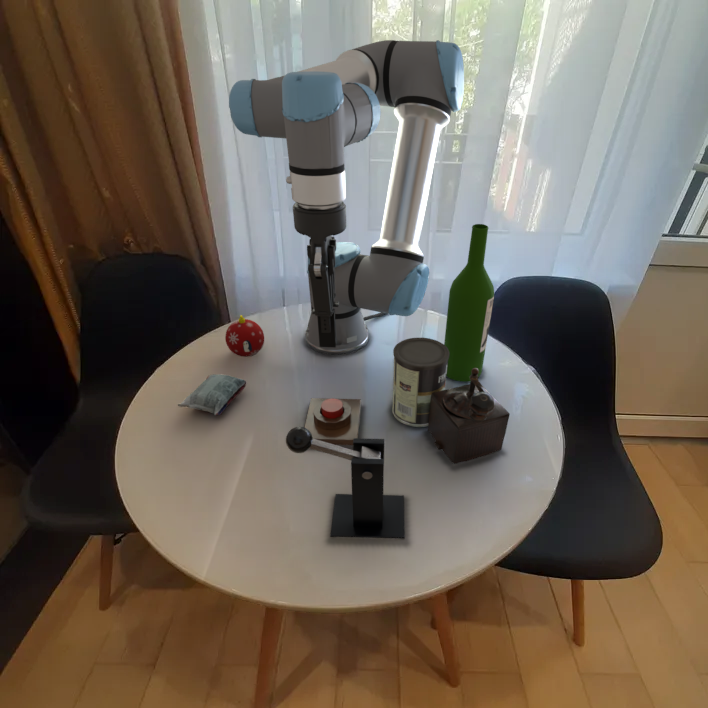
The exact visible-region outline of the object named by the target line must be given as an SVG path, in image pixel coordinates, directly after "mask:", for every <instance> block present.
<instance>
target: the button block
mask: <svg viewBox="0 0 708 708" xmlns="http://www.w3.org/2000/svg"><path fill="white" fill-rule="evenodd" d="M327 399H328V398H326V397H325V398H323V397H322V398H320V397H312V398H310V400H309V405H308V409H307V413H306V418H305V422H304V426H303V427H304V428H306V429H308V430H309V431H310V432H311V434H312V438H313V439H317V440H320V441H324V442H327V443H330V444H334V445H337V446H353V439H354V438H359V430H360V425H361V413H362V399H361V398H337V399H338V400H340V401H341V402H342V403H343V414H342V415H341V416H340V417H337V418H334V419H333V418H326V417H324V416H323V415H322V410H321V404H322V402H323V401H325V400H327Z"/></svg>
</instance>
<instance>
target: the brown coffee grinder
mask: <svg viewBox="0 0 708 708" xmlns="http://www.w3.org/2000/svg"><path fill="white" fill-rule="evenodd" d="M471 373H472V374H471V375H470V377H469V378H470V380H471V381H469V384H468V383H467V384H464V385H459V386H455V387H450V388H448V389H445V390H442V391H438V392H434V393H432V394H431V401H430V412H429V423H428V426H427V430H426V431H427V432H429V434H430V436H431V437H432V438H433V439H434V442H433V445H434V446H435V448H436V450H441V451H442V452H443V453H444V454H445V456H446V457H447V458H448V460H450V462H451V463H452V464H453V465H458V464H461V463H465V462H469V461H472V460H475V459H480V458H482V457H486V456H489V455H492V454H494V453H496V452H499V451H501V450H502V449H503V445H504V440H505V437H506V432H507V428H508V424H509V420H510V413H509V411H508V410H507V409H506V408H505V407H504V406H503V405H502V404H501V403H500V402H499V401H498V400H497V399H496V398H495V397H494V396H493V395H492V393H490V391H488V390H487V389H486V387H485V386H484V385H483V384H482V383H481V382H480V381H479V377H478V373H479V370H478V368H473V369H472V370H471Z"/></svg>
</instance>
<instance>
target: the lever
mask: <svg viewBox="0 0 708 708" xmlns="http://www.w3.org/2000/svg"><path fill="white" fill-rule="evenodd" d="M304 427H305V426H294V427H292V428H290V430H289V431H288V432H287V434H286V436H285V444H286V447H287V449H289V451H291V452H293V453H295V454H303V453H305V452H307V451H309V450H310V449H311V450H313V451H318V452H321V453H325V454H328V455H330V456H335V457H338V458H341V459H345V460H348V461H351V459H352V458H364V459H380V456H381V452H380V451H377V450H373V449H370V448H367V447H363V446H362V448H361V450H360V452H358V451H354V450H353V449H351V448H347V447H344V446H342V445H334V444H330V443H327V442H324V441H320V440H317V439H313V438H312V434H311V432H310V431H309V430H308V429H306V428H304Z"/></svg>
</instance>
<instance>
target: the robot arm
mask: <svg viewBox="0 0 708 708" xmlns="http://www.w3.org/2000/svg"><path fill="white" fill-rule="evenodd" d="M464 67H465V66H464V58H463V54H462V49H461V48H460V46H459V45H458V44H456V43H455V42H449V41H441V40H435V41H434V40H433V41H431V40H430V41H428V40H393V39H389V40H388V39H386V40H380V41H376V42H371V43H368V44H365V45H361V46H357V47H355V48H352V49H348V50H345V51H343V52H342V53H340V54H339V55H338V56H337V58H336V59H335V60H333V61H329V62H326V63H322V64H318V65H316V66H312V67H308V68H305V69H302V70H298V71H291V72H288V73H286V74H284V75H282V76H278V77H273V78H270V79H261V80H260V79H256V78H251V79H240V80H237V81H236V82H235V83H234V84H233V85H232V86H231V89H230V92H229V95H228V108H229V112H230V118H231V121H232V123H233V125H234V126H235V128H236V129H237V130H238V131H239V132H240V133H241V134H244V135H249V136H254V137H257V138H272V139H273V138H275V139H286V147H287V148H286V149H287V156H288V169H289V176H286V178H285V181H286V183H287V184H289V185H291V187H290V190H291V199H292V201H293V202H294V204H293V205H292V216H293V226H294V227H293V228H294V229H295V231H296V232H297V233H298V234H300V235H302V236H306V237H308V238H309V243H308V244H307V245H306V255H307V270H306V272H307V279H308V288H309V289H308V290H309V299H310V301H309V302H310V316H309V320H308V323H307V327H306V330H305V342H306V344H307V346H308V347H309V348H310V349H311V350H313V351H315V352H316V353H319V354H323V355H328V356H344V355H349V354H352V353H356V352H358V351H360V350H362V349H363V348H364V347H365V346H366V345H367V344H368V342H369V329H368V326H367V324H366V323H365V322H366V321H369V320H371V319H376V318H380V317H382V316H385V315H386V314H388V316H389V315H390V316H401V317H410V316H412V315H413V314H414V313H416V312H417V310H418V308H419V307H420V305H421V304H422V301H423V299H424V297H425V294H426V292H427V288H428V284H429V279H430V278H429V277H430V267H429V266H428V265H427V264H426V263H424V259H425V255H424V253H423V251H422V249H420V241H421V236H422V231H423V226H424V219H425V215H426V210H427V209H426V208H427V204H428V199H429V194H430V188H431V183H432V176H433V172H434V165H435V161H436V155H437V150H438V145H439V139H440V134H441V130H442V129H443V128H445V127H446V126H447V125H448V124H449V123H450V121H451V114H452V113H456V112H458V111H460V110H461V108H462V105H463V102H464V92H465V68H464ZM381 107H388V108H394V109H393V113H394V116H395V117H396V118H397V121H398V122H399V123H398V130H397V134H396V140H395V147H394V152H393V159H392V164H391V170H390V177H389V182H388V187H387V194H386V198H385V199H386V200H385V205H384V211H383V216H382V217H383V218H382V223H381V229H380V235H379V239H378V240H377V241H376V242H375V243H373V244H372V245H371V247H370V252H369V255H367V254H362V253H361V248H360V246H359V245H358V244H356V243H355V242H351V241H350V242H349V241H337V239H335V236H337V235H340V234H341V233H343V232H344V231H345V230H346V229H347V205H346V203H345V200H346V199H347V187H346V186H347V181H346V168H345V147H347V146H351V145H354V144H355V143H357V144H358V143H360V142H363V141H364V140H366V139H367V138H368V137H369V136H371V135H372V134H373V133H374V132H375V131H376V129H377V128H378V127H379V123H380V119H381V113H382V112H381ZM362 310H367V311H372V312H377V313H375V314H369V315H367V316H363V313H362Z"/></svg>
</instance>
